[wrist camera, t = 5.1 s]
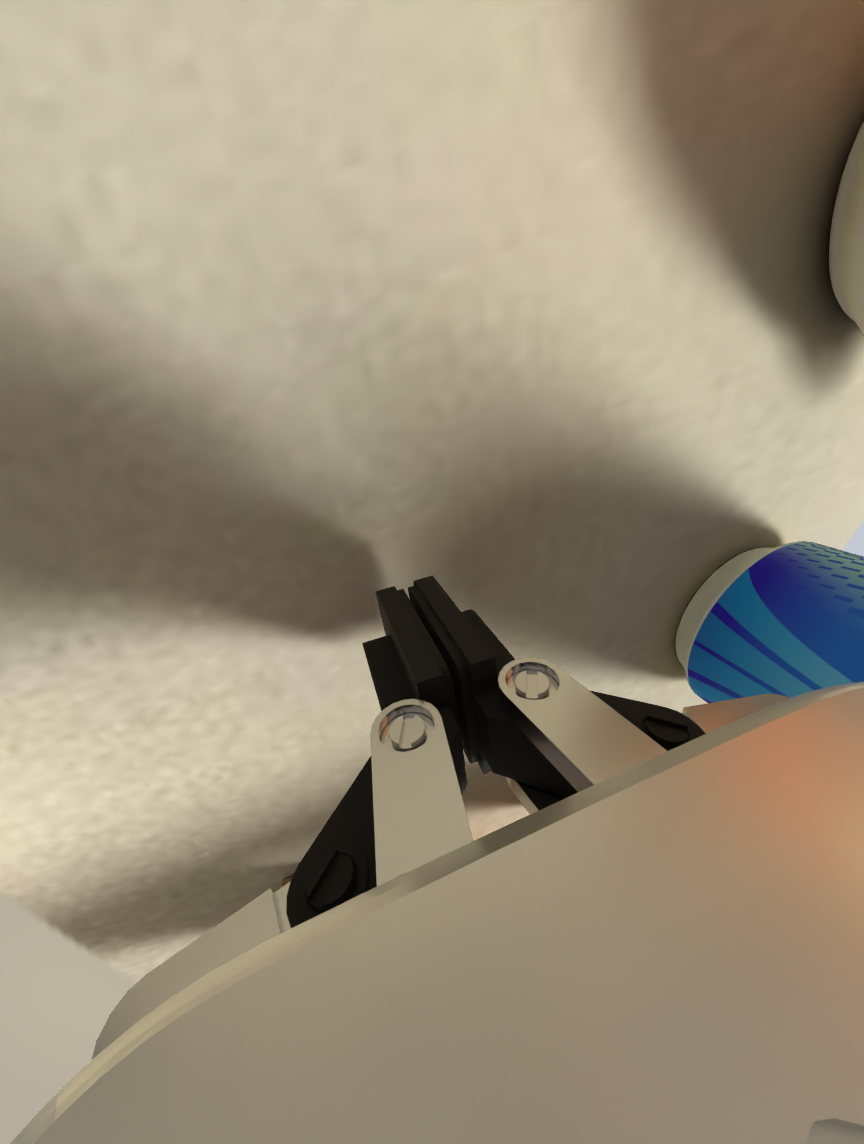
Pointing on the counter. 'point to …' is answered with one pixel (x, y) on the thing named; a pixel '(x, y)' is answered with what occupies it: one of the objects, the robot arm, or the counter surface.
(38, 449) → the counter surface
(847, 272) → the teacup
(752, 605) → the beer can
